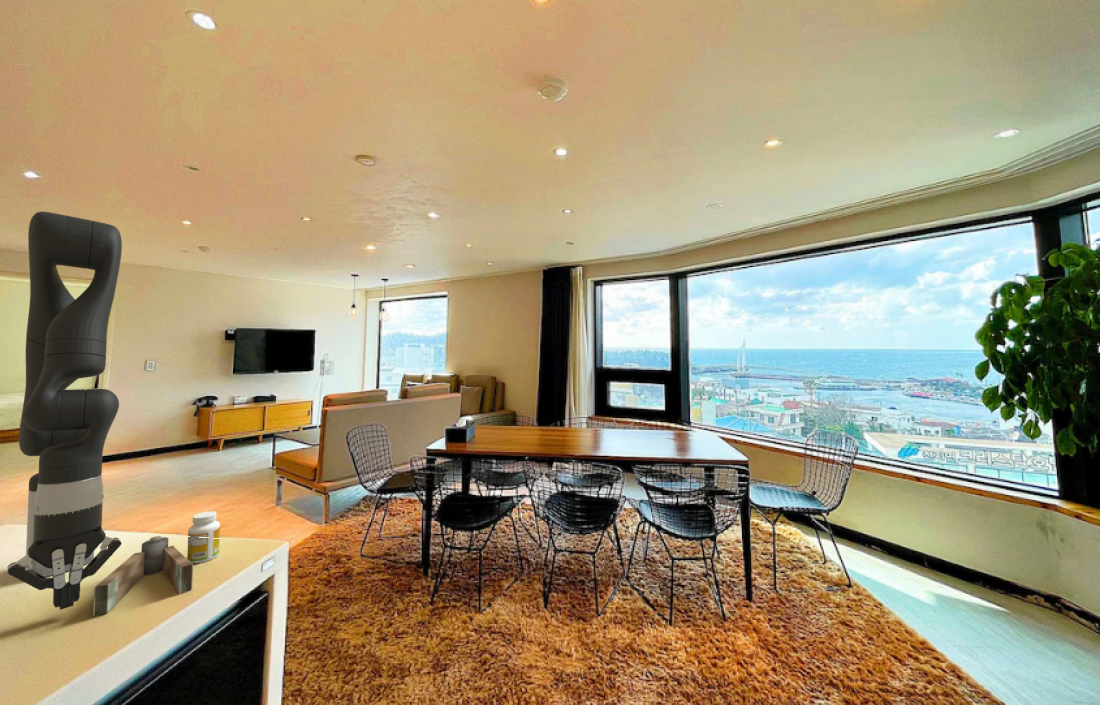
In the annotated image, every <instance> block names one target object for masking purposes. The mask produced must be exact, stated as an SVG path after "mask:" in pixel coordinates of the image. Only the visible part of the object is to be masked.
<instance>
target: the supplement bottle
mask: <svg viewBox="0 0 1100 705" xmlns="http://www.w3.org/2000/svg"><path fill="white" fill-rule="evenodd" d="M216 519H217V512H216V511H204V512H198V513H196V514H194V515H193V516H192V525H191V526H190V527H189V528H188V530H187V531H188V532H187V556H186V559H187V560H189V561H190V562H191V563H192V564H193V563H195V564H200V563H206V562H208V561H212V560H213V558H214V559H215V558H217V557H218V556H219V555H220V540H221V538H220V537H221V535H220V534H221V532H220V531H221V524H220V523H221V522H219V521H218V520H216ZM188 536H190V537H188ZM199 537H209V538H199ZM213 538H220V539H213Z"/></svg>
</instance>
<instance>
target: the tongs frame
mask: <svg viewBox="0 0 1100 705" xmlns="http://www.w3.org/2000/svg"><path fill="white" fill-rule="evenodd" d="M140 549H141V551H140V552H144V576H152V575H156V574H159V573H162V572H163V573H164V574H165V575H164V574H163V573H162V574H163V575H164V576H165V577H166V579H167V580H168V579H169V580H170V581H171V582H170V581H169V580H168V581H169V582H170V584H171V585H173V587H174V589H175V590H176V592H178V593H179V594H180V595H181V594H184V593H187V592H189V591H192V590H193V582H194V581H193V580H194V579H193V577H194V574H193V572H194V564H193V563H191V562H190V561H189V560H187V557H186V556H184V555H183V553H181V551H180V550H178V549H177V548H176V546H174V545H170V546H169V538H168V537H162V536H160V535H156V536H155V535H154V536H153V537H151V538H149V539H148V540H146V541H144V542H142V543H141V548H140ZM161 571H162V572H161ZM155 573H156V574H155Z"/></svg>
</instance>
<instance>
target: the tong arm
mask: <svg viewBox="0 0 1100 705" xmlns="http://www.w3.org/2000/svg"><path fill="white" fill-rule="evenodd" d="M144 576H145V575H144V552H141V551H139V552H134V553H133V554H132V555H130V556H129V557H128V558H127V559H126V560H125V561H123V562H122V563H121V564H120V565H119V566H118V567H117V568H115V570H113V571H112V572H111V573H110V574H108V575H107V576H106V577H105V578H104V579H102V580H100V582H99V583H97V585H95V586H94V588H93V591H94V592H93V616H94V617H95V616H101V615H107V613H109V612H110V611H111V610H112V609H113V608H114V607H116V605H117V604H118V603H119V602H120V601H121V600H122V599H123V598H124V597H125V596H126V595H127V594H128V593H129V592H130V591H131V590H132V589H133V588H134V587H135V586H136V585H137V584H138V583H139V582H140V581H141V580H142V579H143V578H144Z"/></svg>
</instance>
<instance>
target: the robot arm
mask: <svg viewBox="0 0 1100 705" xmlns="http://www.w3.org/2000/svg"><path fill="white" fill-rule="evenodd" d="M28 226H29V227H28V233H27V234H28V235H27V236H28V238H27V239H28V242H27V243H28V263H29V264H28V265H29V286H30V289H29V290H30V292H29V305H28V306H29V308H28V315H27V325H26V334H25V389H24V390H25V391H24V398H23V404H22V411H21V417H20V423H19V431H18V445H19V449H20V451H21V453H22V454H23V455H25V456H27V457H38V458H39V459H38V472H37V473H35V474H33V475H32V476H31V477H30V478H29V481H28V492H27V493H28V494H27V496H28V498H27V517H26V518H27V521H26V543H25V544H26V545H25V547H26V548H25V550H26V551H25V555H24V556H22V558H19V560H17V561H14V562H11V563H10V564H8V565H7V567H6V568H7V574H8V575H10V576H12V577H14V578H15V579H17V580H19V581H20V582H23V583H25V584H27V585H28V586H31V587H33V588H34V589H36V590H38V591H43V590H46V589H52V590H53V592H52V593H53V594H52V604H53V606H54V608H59V610H60V611H61V610H64V609H67V608H71V607H73V606H74V605H75V604H74V603H75V602H78V601H79V599H80V594H81V583H82V581H83V580H84V579H86V578H87V577H91V576H94V575H95V574H96V573H97V572H98V571H99V570H100V569H101V568H102V567H103V566H104V564H105V563H107V561H108V560H109V559H110V558H111V556H113V554H115V552H116V551H117V550H118V549H119V548H120V547H121V546H122V545H123V544H122V541H121V540H120V539H119V537H109V536H106V532H105V531H104V530H103V527H102V526H103V524H102V523H103V502H104V500H103V499H104V495H105V494H104V483H103V478H102V473H103V470H102V468H103V455H104V454H103V453H104V452H103V451H104V447H105V443H106V440H107V437H108V434H109V431H110V430H111V427H112V425H113V423H114V421H115V419H116V416H117V414H118V411H119V408H120V401H119V398H118V396H117V394H116V393H114V392H113V391H111V390H110V389H106V388H87V389H85V388H83V389H81V388H80V389H79V388H78V389H77V388H75V389H67V388H69V387H70V386H71V385H73V383H75V382H76V381H77V380H79V379H85V378H91V377H96V376H99V375H101V374H103V373H104V371H105V369H106V363H107V362H106V360H107V340H108V339H107V337H108V336H107V335H108V326H109V320H110V316H111V311H112V307H113V303H114V298H115V293H116V290H117V289H116V288H117V284H118V283H117V282H118V277H119V274H120V273H119V272H120V267H121V266H120V265H121V261H122V260H121V259H122V249H123V247H122V246H123V241H122V235H121V232H120V230H119V229H118V228H117V227H116V226H114V225H113V224H110V223H105V222H101V221H96V220H91V219H87V218H86V219H85V218H81V217H75V216H71V215H67V214H66V215H65V214H59V213H57V212H55V213H54V212H50V211H37V212H35V213H34V214H33V215H32V216H31V218H30V222H29V225H28ZM57 266H63V267H72V268H79V269H88V270H92V271H93V270H94V275H93V276H92V280H91V282H90V283H89V285H88V286H87V288H86V289H85V290H84V291H83V292H82V293H80V295H79V296H77V297H76V298H75V297H74V296H73V295H72V294H71V293H70V291H69V290H68V288H67V287H66V285H65V283H64V282H63V280H62V278H61V277H60V274H59V271H58V269H57ZM98 547H99V549H100V551H99V552H98V553H97V554H96V555H95V551H96V550H97V548H98ZM85 565H86V566H85ZM84 566H85V567H84ZM66 572H68V581H67V582H66ZM48 576H52V577H48Z"/></svg>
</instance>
